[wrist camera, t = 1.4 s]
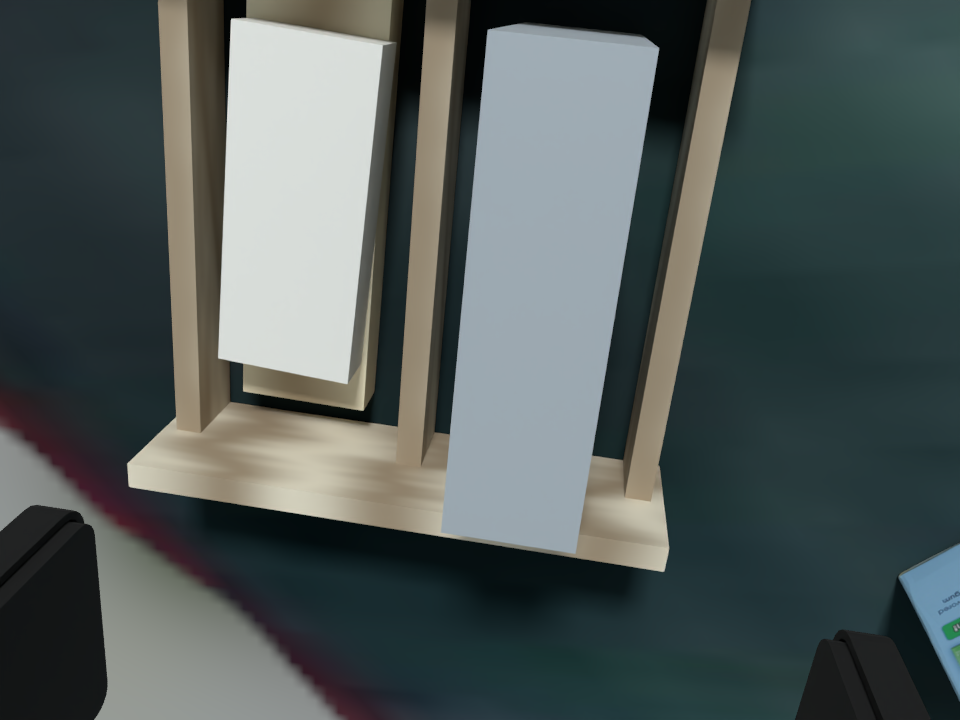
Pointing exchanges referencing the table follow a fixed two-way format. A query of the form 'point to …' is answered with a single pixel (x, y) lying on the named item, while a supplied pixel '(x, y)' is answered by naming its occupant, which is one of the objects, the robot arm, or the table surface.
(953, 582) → the gum box
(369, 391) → the block
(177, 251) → the offcut rack
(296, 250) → the offcut top
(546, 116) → the grey sheet
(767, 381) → the table surface
